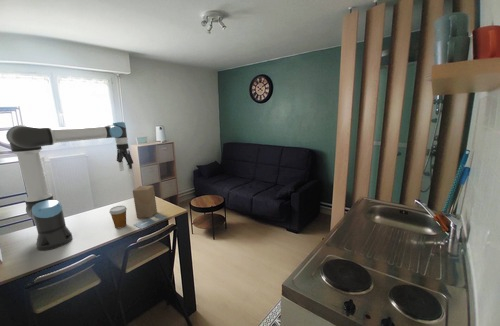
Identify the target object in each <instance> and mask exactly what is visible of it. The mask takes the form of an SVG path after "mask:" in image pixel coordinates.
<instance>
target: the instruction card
mask: <svg viewBox="0 0 500 326" xmlns="http://www.w3.org/2000/svg"><path fill="white" fill-rule="evenodd" d="M165 219H168V217H166V216H164V215H162V214H160V213H158V214H154V215H153V216H152V217H150V218H146V219H145V218H144V220H141V221H139V222H136V223H133V226H134V227H136V228H139V229H140V230H143V229H145V228H147V227H149V226H152V225H154V224H155V225H156V224H157V223H159V222H162V221H163V220H165Z"/></svg>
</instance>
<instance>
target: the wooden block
mask: <svg viewBox="0 0 500 326" xmlns="http://www.w3.org/2000/svg"><path fill="white" fill-rule="evenodd" d="M155 193H156V192H155V186H154V185H140V186H138V187H136V188H134V189H133V190H132V195H133V202H134V209H135V215H136V218H137V219H142V218H143V219H145V218H146V219H148V218H150V217H153V216H155V215H156V213H157V212H158V209H157V202H156V194H155Z"/></svg>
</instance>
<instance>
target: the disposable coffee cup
mask: <svg viewBox="0 0 500 326" xmlns="http://www.w3.org/2000/svg"><path fill="white" fill-rule="evenodd" d="M127 210H128V208H127V206H126V205H117V206H112V207H110V209H109V215H110V216H111V219H112V222H113V225H114V227H115V228H116V229H121V228H124V227H126V226H127Z"/></svg>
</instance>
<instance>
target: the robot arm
mask: <svg viewBox="0 0 500 326" xmlns="http://www.w3.org/2000/svg"><path fill="white" fill-rule="evenodd" d="M5 136H6V140H7V142H9V146H10V149H11V152H12V153H13V154H15V155H16V157H17V161H18V164H19V167H20V172H21V175H22V179H23V183H24V187H25V190H26V195H27V197H26V198H25V199H24V202H25V205H26V206H25V212H26V214H27V216H29V217H30V218H31V219H32V220H33V222H34V223H35V227H36V231H37V238H36V243H35V246H36V249H37V250H38V251H48V250H54V249H57V248H59V247H62V246H64V245H66V244H67V243H69V242H71V240H72V239H73V234H72V232H71V230H69V228H68V227H67V226H66V219H65V216H64V212H63V206H62V204H61V202H60V201H59V200H56V199H54V195H53V194H52V193H50V192H49V190H48V185H47V181H46V177H45V173H44V168H43V163H42V161H41V160H42V159H41V156H40V152H41V150H42V149H43V148H42V147H45V146H52V145H54V144H56V143H57V144H58V143H69V142H80V141H89V140H98V139H99V140H100V139H110V138H111V139H112V138H114V139H115V144H116V145H115V146H116V154H117V155H116V162H118V167H119V171H120V172H122V171H124V170H125V168H124V161H123V159H125V161H126V163H127V164H126V165H127V171H128V174H132V173H134V169H133V165H134V160H133V157H132V155H131V152H130V150H128V149H129V143H128V142H129V141H128V139H129V138H128V132H127V126H126V122H124V121H113V123H112V124H110V125H109V124H107V125H105V124H104V125H95V126H81V127H80V126H79V127H78V126H77V127H58V128H51V127H49V126H32V125H25V124H23V125H22V124H20V125H19V124H18V125H15V126H14V125H13V126H12V127H11V128H9V129H8V130H7V132H6V135H5Z"/></svg>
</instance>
